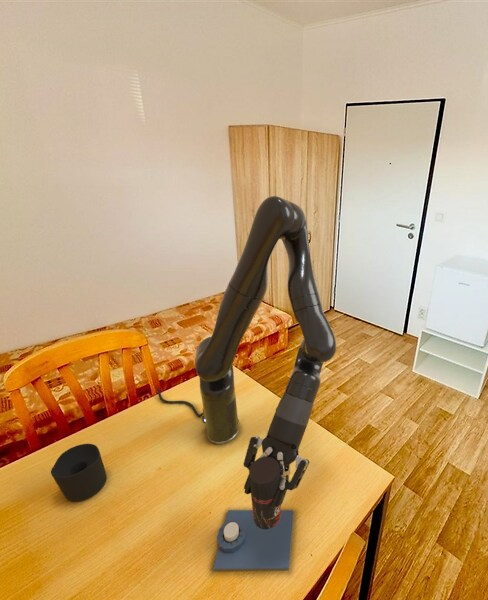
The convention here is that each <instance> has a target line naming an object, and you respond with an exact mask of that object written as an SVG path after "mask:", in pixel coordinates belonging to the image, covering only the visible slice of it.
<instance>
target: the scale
mask: <svg viewBox="0 0 488 600" xmlns="http://www.w3.org/2000/svg"><path fill="white" fill-rule="evenodd" d="M231 522H235V523H237V524H238V527H239V535H238V537H237V539H236V540H234V541H232V542H228V541H226V540H225V538H224V528H225V526H226V525H227V524H229V523H231ZM293 523H294V510H292V509H288V510H287V509H286V510H285V509H284V510H283V509H281V517H280V520H279V522H278V523H277V524H276V525H275V526H274V527H272V528H270V529H261V528H259V527H257V526H256V524H255V523H254V518H253V509H247V510H246V509H228V510H227V513H226V517H225V521H224V523H223V524H222V525H221V526H220V528H219V529H218V530H217V531H218V532H217V536H216V540H217V545H218V548H217V551H216V556H215V559H214V563H213V568H212V572H228V571H229V572H233V571H235V572H236V571H237V572H239V571H241V572H242V571H243V572H244V571H289V570H290V563H291V562H290V561H291V552H292V551H291V550H292V547H291V546H292V538H293Z"/></svg>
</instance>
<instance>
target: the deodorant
mask: <svg viewBox="0 0 488 600" xmlns="http://www.w3.org/2000/svg"><path fill="white" fill-rule="evenodd" d="M258 458H259V457H258ZM258 458H257V459H255V461H254V462H253V463H252V465H251V466H250V469H249V470H248V475H249V478H250V488H251V493H250V498H251V507H252V510H253V518H254V523H255V524H256V526H257V527H259V528H261V529H270V528H272V527H274V526H275V525H276V524H277V523H278V522H279V520H280V517H281V510H282V505H281V506H279V507H277V508H276V509H273V508H271V505H272V503H273V500H274V497H275V494H276V492H277V489H278V488H279V480H280V466H279V463H278V462H277V460H275V459H274V458H272V457H261V458H259V459H258Z"/></svg>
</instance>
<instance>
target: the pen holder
mask: <svg viewBox="0 0 488 600" xmlns="http://www.w3.org/2000/svg"><path fill="white" fill-rule="evenodd" d="M50 475H51V476H52V478H53V480H54V481H55V483H56V485H57V486H58V488H59V490H60V491H61V493H62V495H63V496H64V498H65V499H66V500H67V501H69V502H72V503H79V502H84V501H86V500H89V499H90V498H92V497H94V496H95V495H97V493H99V492H100V491H101V489H102V488H103V487H104V485H105V484H106V483H107V478H108V477H107V472H106V469H105V465H104V462H103V459H102V456H101V452H100V449H99V447H98V446H97V445H96V444H94V443H81V444H77V445H74V446H73V447H70V448H68V449H66V450H65V451H63V452H62V453H61V454H60V455H59V456H58V458H57V459H56V461H55V463H54V465H53V466H52V468H51V470H50Z"/></svg>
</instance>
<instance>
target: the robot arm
mask: <svg viewBox="0 0 488 600" xmlns="http://www.w3.org/2000/svg"><path fill="white" fill-rule="evenodd" d="M280 240H281V242H282V244H283V246H284V249H285V252H286V255H287V260H288V261H287V263H288V271H287V283H286V285H287V286H286V287H287V294H288V300H289V302H290V307H291V310H292V315H293V317H294V320H295V322H296V323H297V324H298V325H299V327H300V330H301V333H302V336H303V339H302V340H301V342H300V345H299V347H298V350H297V354H296V357H295V361H294V365H293V370H292V373H291V375H290V377H289V380H288V382H287V384H286V386H285V389H284V392H283V393H282V396H281V398H280V399H279V402H278V404H277V406H276V407H275V412H274V414H273V416H272V419H271V422H270V425H269V427H268V430H267V433H266V436H265V437H264V438H262V437H260V436H251V437H250V439H249V442H248V446H247V449H246V453H245V456H244V460H243V467H244V468H247V470H248V471H249V469H250V466H251V465H252V463H253V462H254V461H255V460H256V458H257V455H258V451H259V449H260V448H261V450H262V454H261V455H260V456H259V457H258V458H257V459H259V458H261V457H272V458H274V459H275V460H277V462H278V463H279V466H280V480H279V488H278V489H277V492H276V494H275V497H274V500H273V503H272V505H271V508H273V509H276V508H277V507H279V506H281V507H282V505H283V502H284V499H285V497H286V494H287V491H294V490H295V489H297V488H299V485H300V483H301V481H302V479H303V478H304V476H305V473H306V471H307V469H308V467H309V464H310V461H309V459H307V458H305V459H304V458H303V457H302V456H300V455H299V448H300V446H301V444H302V441H303V438H304V436H305V433H306V430H307V427H308V424H309V421H310V419H311V415H312V412H313V408H314V403H315V401H316V398H317V396H318V393H319V390H320V387H321V382H322V381H321V377H320V376H321V372H322V368H323V365H324V363H328V362H329V361H330V360H332V359H333V358H334V356H335V354H336V351H337V342H336V341H337V340H336V337H335V334H334V331H333V329H332V326H331V324H330V322H329V320H328V318H327V316H326V315H325V312H324V307H323V304H322V303H323V302H322V300H321V297H320V293H319V290H318V286H317V282H316V278H315V274H314V270H313V264H312V257H311V249H310V242H309V233H308V225H307V219H306V214H305V212H304V210H303V209H302V208H301V207H300V206H299V205H298V204H297V203H294V202H292V201H289V200H287V199H285V198H282V197H280V196H278V195H277V196H276V195H272V196H271V195H270V196H268V197H266V198H264V200H263V201H262V202H261V203H260V204H259V206H258V208H257V210H256V212H255V215H254V217H253V221H252V223H251V227H250V231H249V233H248V236H247V239H246V242H245V245H244V248H243V250H242V253H241V255H240V257H239V259H238V262H237V264H236V267H235V269H234V272H233V274H232V276H231V278H230V279H229V282H228V283H227V285H226V288H225V290H224V293H223V295H222V298H221V301H220V305H219V308H218V311H217V316H216V320H215V323H214V328H213V331H212V334H211V336H209V337H206V338H204V339H202V340H201V341H200V342H199V343H198V345H197V347H196V350H195V359H194V369H195V373H196V375H197V376H198V377H199V390H200V394H201V395H200V397H201V402H202V412H201V413H199V412H198V410H197V409H196V407H195V405H193V404H192V403H191V402H190V401H186V400H167V399H164V398H163V397H162V392H161V388H157V389H156V391H157V395H158V399H159V400H160V401H162V402H163V403H166V404H186V405H188V406H190V407H191V410H193V412H194V414H195V415H196V416H197V417H199V418H201V421H202V423H203V424H204V426H205V431H206V437H207V440H208V441H209V442H210V443H212V444H214V445H225V444H227V443H229V442H232V441H233V440H234V439H235V438H236V437H237V436H238V434H239V433H240V425H239V423H240V421H239V417H238V416H239V415H238V407H237V396H236V388H235V387H236V386H235V375H234V365H233V363H234V360H235V357H236V354H237V352H238V349H239V346H240V344H241V341H242V340H243V338H244V336H245V334H246V333H247V330H248V329H249V327H250V325H251V323H252V321H253V320H254V317H255V315H256V313H257V311H258V310H259V308H260V307H261V303H262V302H263V300H264V297H265V296H266V293H267V291H268V285H269V284H268V283H269V281H268V280H269V275H268V274H269V272H268V270H269V269H268V266H269V262H270V258H271V256H272V253H273V251H274V249H275V247H276V245H277V243H278V242H279V241H280ZM292 463H295V471H294V473H293V475H292V477H291V479H290V475H291V464H292ZM243 489H244V491H243V492H244V494H245V495H251V488H250V478H249V474H248V475H247V477H246V480H245V482H244V485H243Z"/></svg>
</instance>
